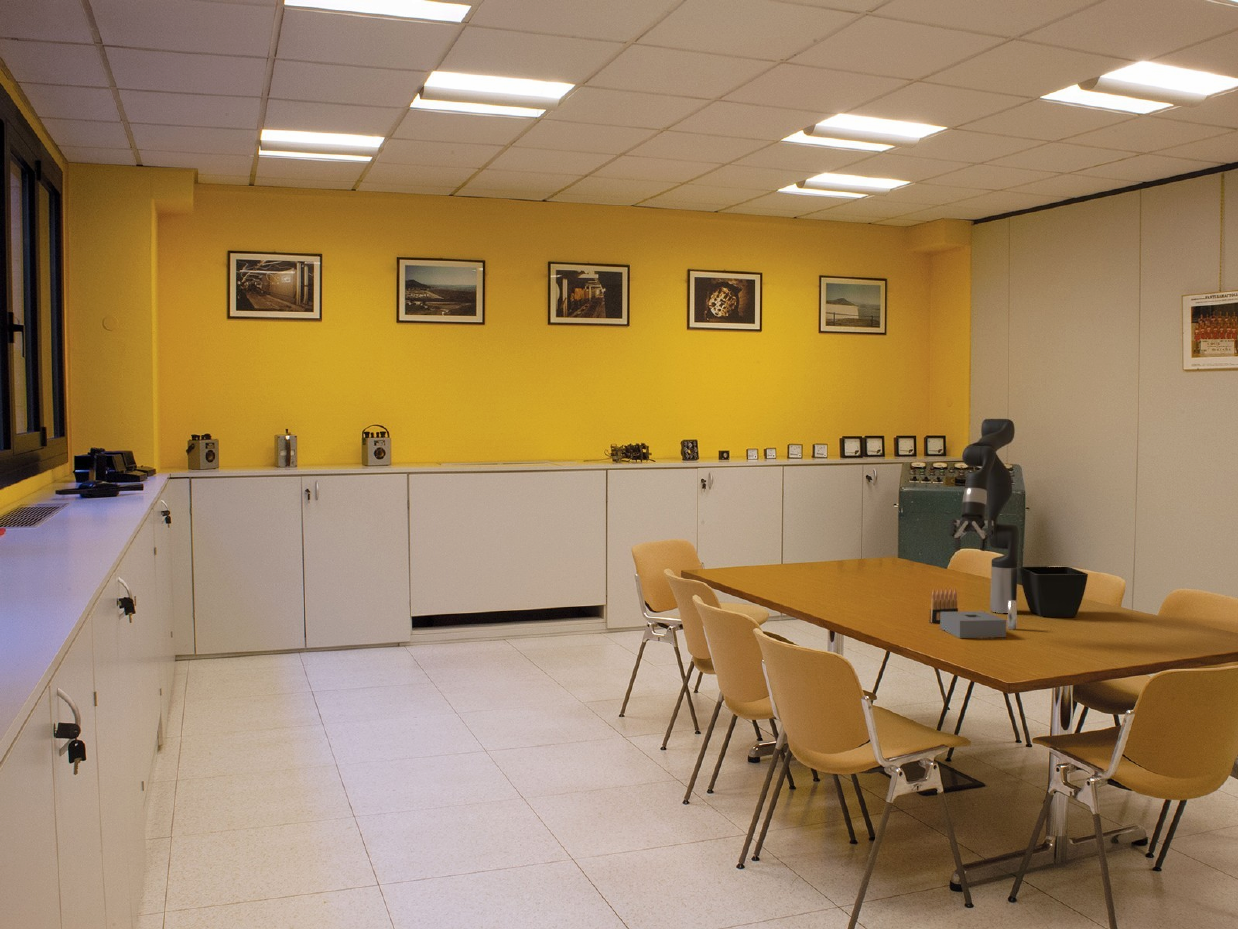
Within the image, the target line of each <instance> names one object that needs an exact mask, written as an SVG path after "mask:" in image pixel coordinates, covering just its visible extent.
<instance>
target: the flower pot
mask: <svg viewBox="0 0 1238 929" xmlns="http://www.w3.org/2000/svg"><path fill="white" fill-rule="evenodd" d="M1018 568H1019V577H1020V581H1021V587H1022V589H1023V594H1024V597H1025V600H1026V603H1027V607H1028V609H1029V611H1030V612H1031V611H1032V612H1031V613H1033V614H1035V613H1036V614H1035V615H1037V616H1039V617H1041V616H1046V617H1045V618H1075V617H1076V616H1077V615H1078V612H1079V609H1080V607H1081V604H1082V603H1083V598H1084V596H1085V591H1086V586H1087V582H1088V576H1089V574H1088V573H1086V572H1084V571H1082V570H1079V569H1075V568H1073V567H1070V566H1019V567H1018Z"/></svg>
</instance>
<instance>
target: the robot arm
mask: <svg viewBox="0 0 1238 929" xmlns="http://www.w3.org/2000/svg"><path fill="white" fill-rule="evenodd" d="M980 427H981V429H980V433H981V438H979V439H978V441H977V442H976V441H975V442H973V443H970V444H969V445H967V446H965V448H964V449H963V451H962V455H961V456H962V457H961V459H962V462H963V463H964V465H966V466H968V467H976V468H977V467H980V469H978V470H976V471H972V472H971V471H970V472H968V473H967V474H966V476H965V484H964V485H965V486H964V491H963V496H962V505H961V506H962V508H961V518H960V519H955V518H953V519H951V522H950V523H951V524H950V529H949V536H950V537H952V538H953V539H954V545H953V547H954V548H955V550H956V551H960V550H961V543H962V540H961V539H962V538H963V537H964V536H965V535H966V534H973V533H974V534H979V536H980V537H981V539H980V551H981V552H985V551H986V550H987V548H988V545H989V547H990V548H992V549H1002V550H1003V549H1004V550H1007V553H1005V554H1003V555H1001V556H1000V555H999V556H997V557H994V558H992V559H991V563H990V564H991V568H990V569H991V571H990V599H989V600H990V605H989V606H990V607H989V610H990V612H992V613H995V612H996V614H1003V613H1008V600H1016V601H1017V602H1018V561H1019V560H1018V558H1019V554H1018V553H1019V543H1020V530H1019V527H1018V526H1017V525H1015V524H1002V523H1001V524H1000V523H998V519H999V516H1000V514H1001V513H1002V511H1003V508H1004V507H1005V506H1006V505H1007V503H1008V502H1009V500H1010V499H1011V497H1012V494H1013V478H1012V474H1011V473H1010V470H1009V469H1008V468H1007V466H1006V465H1005V464H1004V462H1002V460H1001V459H1000V457H999V455H998V454H997V451H998V450H1000V449H1002V448H1003V447H1005V446H1008V445H1009V444H1011V443H1012V442H1013V440H1014V438H1015V424H1014V422H1013V420H1012V419H1009V418H985V419H984V420H983V421H982V422H981V426H980ZM986 509H987V520H985V518H986ZM959 525H960V528H959V529H958V527H959ZM984 526H986V529H987V531H986V532H987V534H986V532H985V530H984V529H983V528H984Z"/></svg>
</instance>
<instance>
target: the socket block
mask: <svg viewBox="0 0 1238 929" xmlns="http://www.w3.org/2000/svg"><path fill="white" fill-rule="evenodd" d="M939 630H941V631H943V630H945V631H946V633H947V632H948V633H947V634H949V633H951V634H953V635H954V636H953V635H952V636H953V637H955V636H956V638H957V637H959V638H978V639H989V638H988V637H991V638H990V639H995V638H994V637H1006V638H1007V619H1004V618H1002V617H999V616H997V615H994V614H993V613H990V612H987V611H986V610H982V611H981V610H978V611H977V610H975V611H971V610H970V611H958V612H940V623H939ZM945 631H944V632H945ZM951 634H950V635H951ZM981 637H982V638H981ZM984 637H985V638H984ZM959 638H958V639H959Z"/></svg>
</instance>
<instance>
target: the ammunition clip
mask: <svg viewBox="0 0 1238 929" xmlns="http://www.w3.org/2000/svg"><path fill="white" fill-rule="evenodd" d="M952 590H953V589H951V588H950V590H949V592H948V590H947V588H946V589H945V591H944V590H943V589H941V590H940V591H939V589H937V590H936V592H935V589H933V590H932V592H931V593H932V594H931V601H930V609H929V620H928V621H929V624H932V623H938V624H940V612H959V608H958V596H957V595H958V594H957V593H958V592H957V589H956V588H954V590H953V591H952Z"/></svg>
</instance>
